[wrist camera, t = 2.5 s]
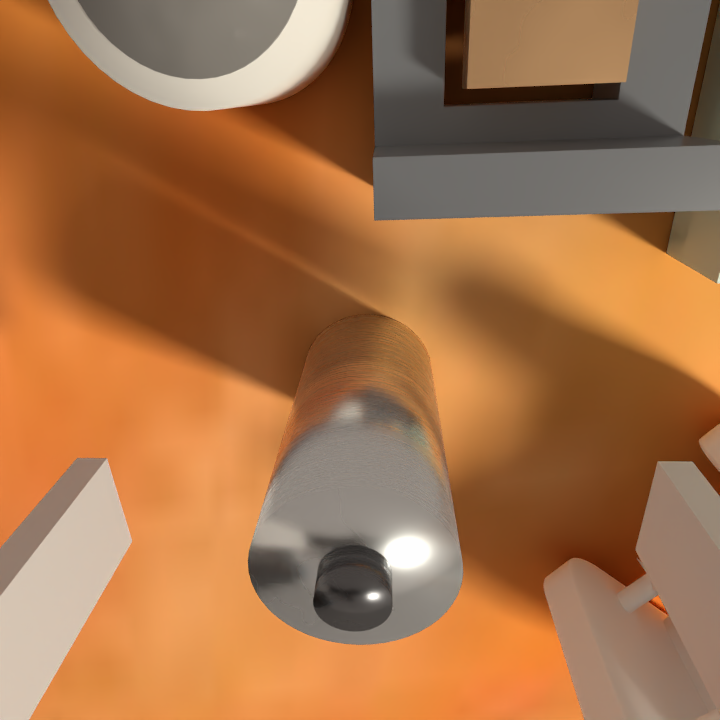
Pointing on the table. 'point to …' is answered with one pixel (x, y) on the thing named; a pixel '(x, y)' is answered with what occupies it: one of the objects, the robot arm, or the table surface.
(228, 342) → the table surface
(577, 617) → the cable organizer
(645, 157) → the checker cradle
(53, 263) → the table surface
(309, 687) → the table surface
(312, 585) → the steel cell
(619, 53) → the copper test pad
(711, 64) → the tray
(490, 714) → the table surface
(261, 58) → the cup
